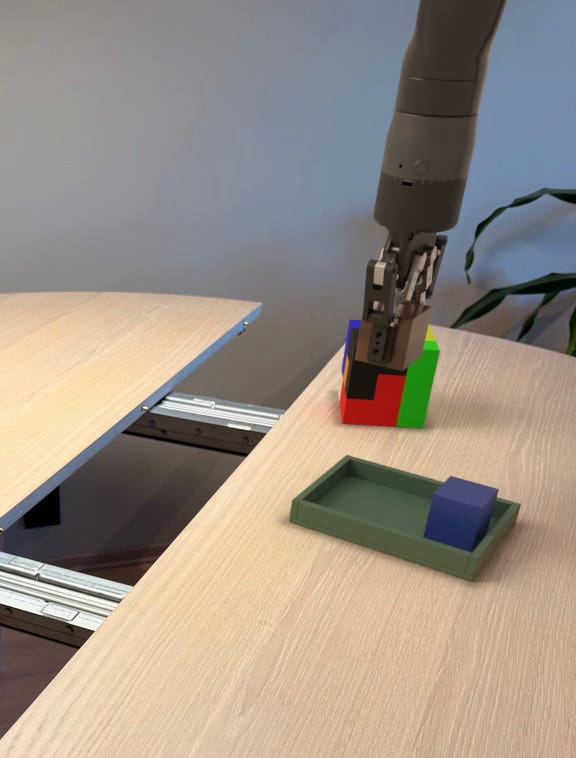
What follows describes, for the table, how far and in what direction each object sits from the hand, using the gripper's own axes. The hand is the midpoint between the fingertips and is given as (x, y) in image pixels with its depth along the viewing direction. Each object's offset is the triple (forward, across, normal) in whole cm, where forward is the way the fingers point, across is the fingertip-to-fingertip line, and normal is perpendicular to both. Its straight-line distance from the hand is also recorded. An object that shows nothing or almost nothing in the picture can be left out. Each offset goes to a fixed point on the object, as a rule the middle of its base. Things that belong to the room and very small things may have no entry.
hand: (389, 354), depth 97 cm
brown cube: (0, 0, 0) cm, 0 cm away
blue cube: (+16, +1, +11) cm, 20 cm away
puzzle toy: (+17, -26, -9) cm, 32 cm away
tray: (+17, +1, +5) cm, 18 cm away
